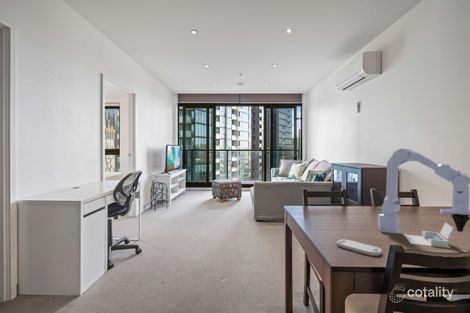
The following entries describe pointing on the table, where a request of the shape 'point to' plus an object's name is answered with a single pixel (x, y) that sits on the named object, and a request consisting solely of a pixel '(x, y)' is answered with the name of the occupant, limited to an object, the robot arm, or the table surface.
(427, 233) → the white storage tray
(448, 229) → the cover
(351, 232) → the table surface
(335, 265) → the table surface
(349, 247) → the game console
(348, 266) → the table surface
